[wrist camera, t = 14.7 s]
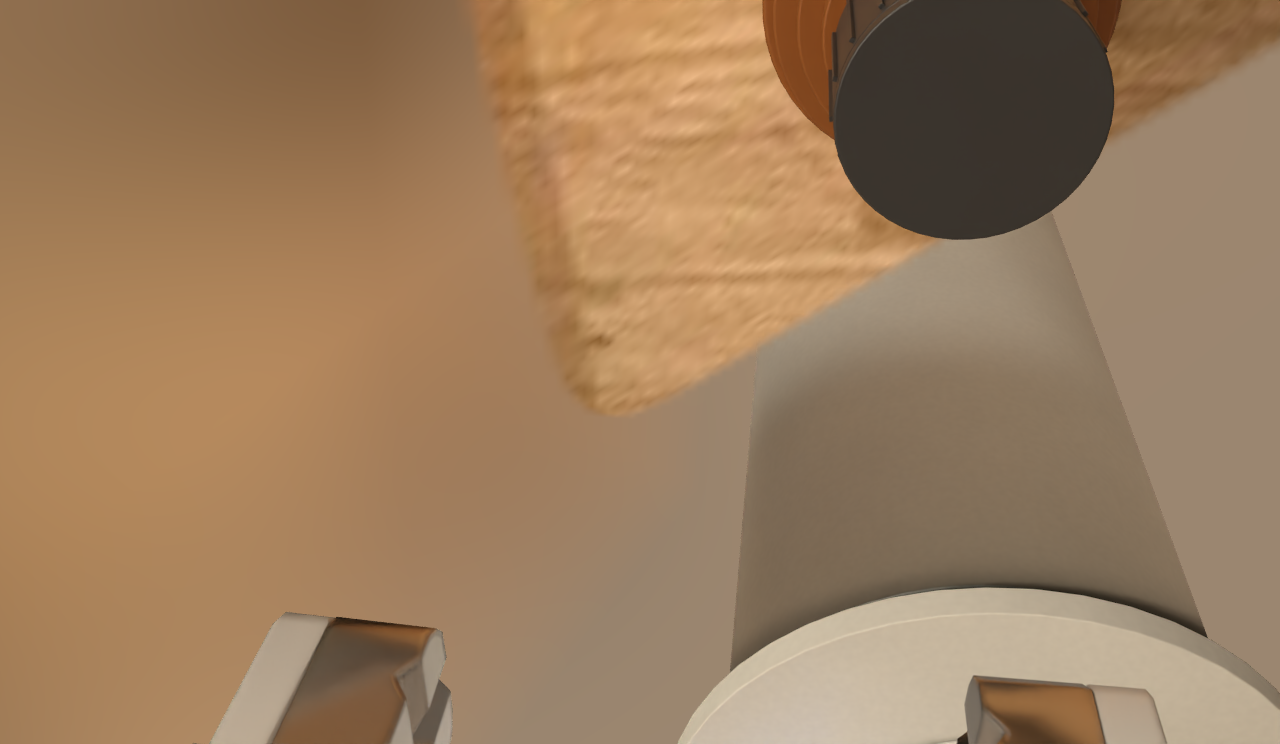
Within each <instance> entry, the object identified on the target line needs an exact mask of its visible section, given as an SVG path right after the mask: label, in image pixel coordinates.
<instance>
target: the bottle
mask: <svg viewBox="0 0 1280 744" xmlns="http://www.w3.org/2000/svg"><path fill="white" fill-rule="evenodd" d="M1080 1H1081V3H1082V4H1083V6H1084V7H1085V9H1086V11H1087V12H1088V14H1089V15H1088V16H1087V17H1088V18H1089V20H1090V22H1091V23H1092V25H1093V27H1094V28H1095V30H1096V31H1097V33H1098V35H1099V36H1100V38H1101V40H1102V41H1103V43H1104V44H1105V46H1106V48H1107V47H1108V45H1109V42H1110V40H1111V37H1112V35H1113V33H1114V30H1115V26H1116V22H1117V19H1118V15H1119V12H1120V8H1121V1H1122V0H1080ZM846 4H847V3H846V0H763V24H764V31H765V37H766V43H767V46H768V50H769V53H770V57H771V60H772V63H773V65H774V67H775V70H776V72H777V74H778V77H779V79H780V81H781V83H782V84H783V86H784V88H785V89H786V91H787V93H788V94H789V96H790V97H791V99H792V100H793V102H794V103H795V104H796V105H797V106H798V108H799V109H800V110H801V111H802V113H803V114H804V115H805V116H806V117H807V118H808V119H809V120H810V121H811V122H812V123H813V124H815V125H816V126H817V127H818V128H819V129H820V130H821V131H823V132H824V133H825V134H827V135H828V136H830V137H831V138H832V139H834V140H835V138H834V129H833V122H829V86H828V70H832V46H831V35H832V32H836V29H837V26H838V22H839V19H840V17H841V15H842V13H843V10H844V8H845V6H846Z"/></svg>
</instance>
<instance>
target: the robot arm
mask: <svg viewBox="0 0 1280 744" xmlns="http://www.w3.org/2000/svg"><path fill="white" fill-rule="evenodd" d="M445 660H446V652H445V645H444V640H443V633H442V632H441V631H440V630H438V629H436V628H428V627H419V626H412V625H403V624H394V623H385V622H377V621H368V620H359V619H350V618H342V617H336V618H333V617H324V616H316V615H307V614H297V613H289V612H286V613H285V614H284V615H282V616H281V617H280V618H279V619H278V620H277V621H276V622H274V623H273V625H272V627H271V628H270V630H269V632H268V634H267V636H266V638H265V640H264V642H263V643H262V645H261V647H260V649H259V651H258V653H257V655H256V657H255V659H254V660H253V662H252V664H251V667H250V668H249V670H248V672H247V674H246V676H245V678H244V680H243V681H242V683H241V685H240V687H239V689H238V691H237V692H236V694H235V696H234V698H233V700H232V702H231V704H230V706H229V708H228V709H227V711H226V713H225V715H224V717H223V719H222V721H221V723H220V725H219V726H218V728H217V730H216V732H215V734H214V736H213V738H212V740H211V741H210V744H450V742H451V736H452V712H453V711H452V700H451V692H450V690H449V689H448V688H447V687H446V686H445V685H444V684H443V683H442V682H441V681H440V680H439V678H440V675H441V672H442V669H443V666H444V663H445ZM964 707H965V716H966V724H967V732H966V733H964V734H963V735H962V736H960V737H959V738H958V739H957V741H949V742H942V743H936V744H1167V741H1166V737H1165V734H1164V731H1163V728H1162V724H1161V721H1160V718H1159V714H1158V711H1157V708H1156V705H1155V701H1154V698H1153V697H1152V696H1151V695H1150V693H1149V692H1148V691H1147V690H1146V689H1140V688H1128V687H1116V686H1103V685H1091V684H1088V685H1086V686H1085V685H1083V684H1079V683H1066V682H1054V681H1041V680H1028V679H1016V678H1003V677H990V676H978V675H973V677H972V679H971V681H970V683H969V685H968V690H967V694H966V699H965V703H964Z"/></svg>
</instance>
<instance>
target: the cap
mask: <svg viewBox="0 0 1280 744" xmlns="http://www.w3.org/2000/svg"><path fill="white" fill-rule="evenodd" d="M846 3H847V4H846V6H845V8H844V10H843V13H842V15H841V17H840V19H839V22H838V26H837V29H836V32H832V35H831V46H832V70H828V86H829V122H833V129H834V138H835V145H836V148H837V152H838V157H839V160H840V162H841V164H842V167H843V169H844V171H845V174H846V175H847V177H848V179H849V180H850V182H851V184H852V185H853V187H854V188H855V190H856V191H857V192H858V193H859V195H860V196H861V197H862V198H863V199H864V201H866V202H867V203H868V204H869V205H870V206H871V207H872V208H873V209H874V210H875V211H877V212H878V213H879V214H881V215H882V216H884V217H885V218H886V219H888V220H889V221H891V222H893V223H895V224H897V225H899V226H901V227H903V228H905V229H908V230H911V231H913V232H916V233H919V234H923V235H927V236H931V237H935V238H943V239H952V240H962V239H978V238H987V237H991V236H995V235H1000V234H1004V233H1007V232H1010V231H1012V230H1015V229H1018V228H1021V227H1023V226H1025V225H1027V224H1029V223H1031V222H1033V221H1035V220H1037V219H1039V218H1040V217H1042V216H1044V215H1045V214H1047V213H1048V212H1050V211H1052V210H1053V209H1054V208H1055V207H1056V206H1058V205H1059V204H1060V203H1062V202H1063V201H1064V200H1065V199H1067V197H1069V195H1071V193H1073V192H1074V190H1075V189H1076V188H1077V187H1078V186H1079V185H1080V184H1081V183H1082V181H1083V180H1084V179H1085V178H1086V176H1087V175H1088V174H1089V173H1090V171H1091V169H1092V168H1093V166H1094V164H1095V163H1096V161H1097V159H1098V158H1099V156H1100V154H1101V152H1102V149H1103V147H1104V145H1105V142H1106V140H1107V137H1108V133H1109V130H1110V127H1111V123H1112V116H1113V109H1114V85H1113V78H1112V71H1111V68H1110V65H1109V61H1108V58H1107V55H1106V53H1107V52H1108V51H1107V48H1106V46H1105V44H1104V43H1103V41H1102V40H1101V38H1100V36H1099V35H1098V33H1097V31H1096V30H1095V28H1094V27H1093V25H1092V23H1091V22H1090V20H1089V18H1088V17H1087V16H1088V15H1089V14H1088V12H1087V11H1086V9H1085V7H1084V6H1083V4H1082V3H1081V1H1080V0H846Z"/></svg>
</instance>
